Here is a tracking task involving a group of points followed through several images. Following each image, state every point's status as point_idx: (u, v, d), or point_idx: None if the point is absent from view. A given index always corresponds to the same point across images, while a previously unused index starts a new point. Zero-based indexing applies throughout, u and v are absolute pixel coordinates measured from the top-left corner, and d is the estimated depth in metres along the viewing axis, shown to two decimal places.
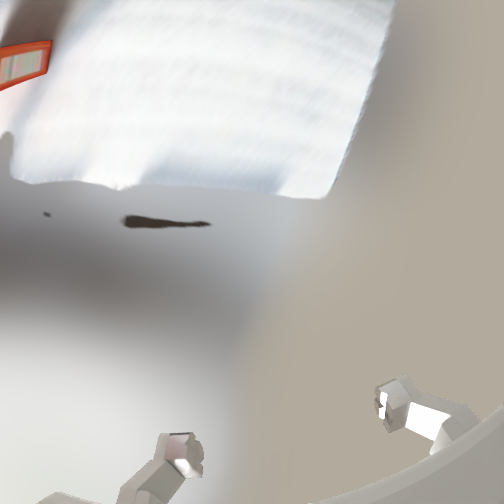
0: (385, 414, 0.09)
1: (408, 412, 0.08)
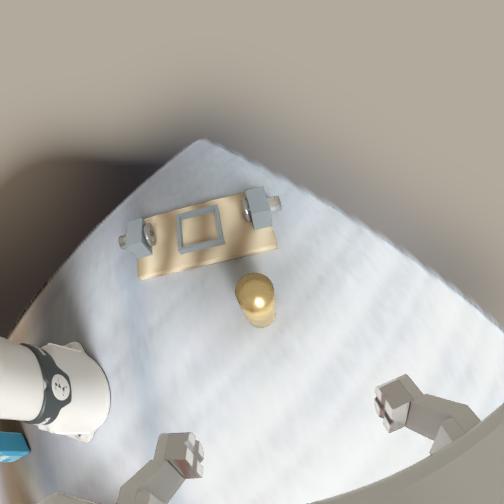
0: (385, 414, 0.09)
1: (408, 412, 0.08)
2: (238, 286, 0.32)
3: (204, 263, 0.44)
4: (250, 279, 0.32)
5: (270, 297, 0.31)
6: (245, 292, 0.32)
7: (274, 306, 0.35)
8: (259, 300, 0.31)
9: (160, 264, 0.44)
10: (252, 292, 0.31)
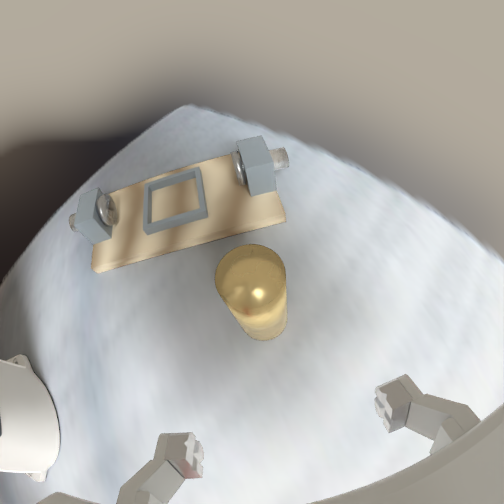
0: (385, 414, 0.09)
1: (408, 412, 0.08)
2: (220, 268, 0.17)
3: (179, 246, 0.30)
4: (242, 255, 0.18)
5: (280, 286, 0.16)
6: (233, 278, 0.17)
7: (286, 305, 0.21)
8: (259, 292, 0.16)
9: (120, 250, 0.30)
10: (246, 279, 0.17)
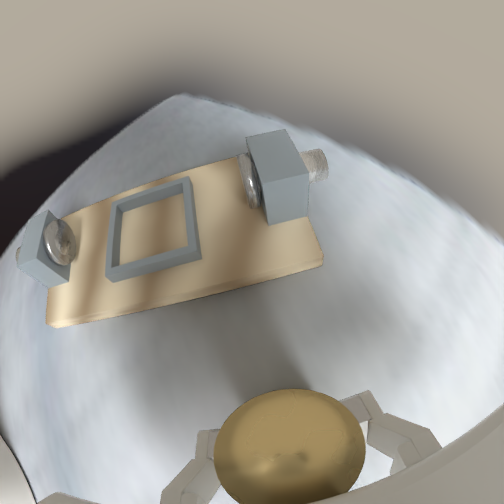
0: None
1: (368, 430, 0.08)
2: (224, 440, 0.06)
3: (159, 303, 0.19)
4: (272, 415, 0.07)
5: (352, 476, 0.05)
6: (255, 464, 0.06)
7: None
8: (309, 491, 0.05)
9: (78, 302, 0.19)
10: (283, 466, 0.06)
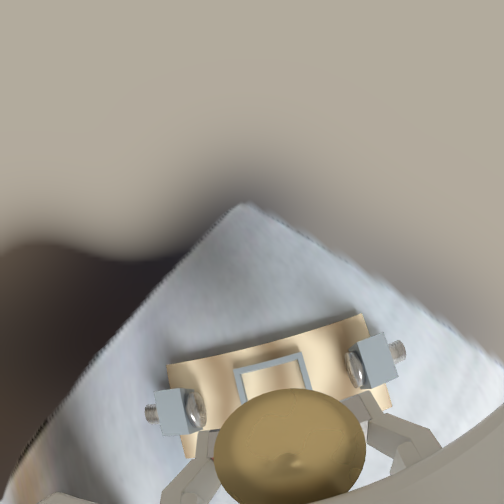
0: None
1: (368, 430, 0.08)
2: (224, 440, 0.06)
3: None
4: (273, 414, 0.07)
5: (353, 476, 0.05)
6: (255, 463, 0.06)
7: None
8: (310, 490, 0.05)
9: None
10: (283, 466, 0.06)
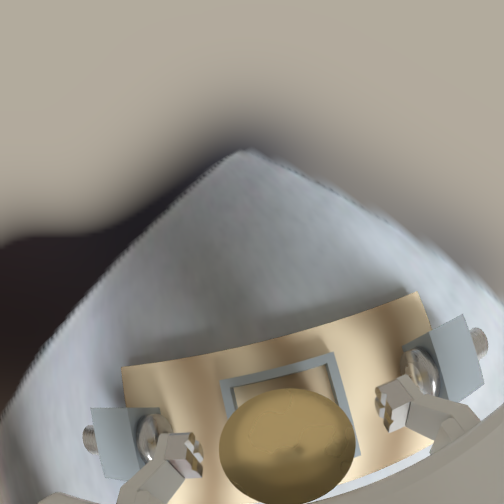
0: (385, 414, 0.09)
1: (408, 412, 0.08)
2: (228, 435, 0.07)
3: None
4: (272, 411, 0.08)
5: (344, 468, 0.06)
6: (256, 456, 0.07)
7: None
8: (305, 481, 0.06)
9: (198, 492, 0.13)
10: (281, 458, 0.07)
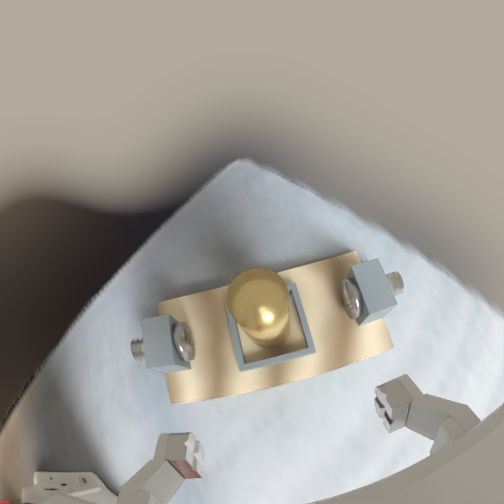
0: (385, 414, 0.09)
1: (408, 412, 0.08)
2: (230, 290, 0.19)
3: (282, 384, 0.25)
4: (249, 278, 0.20)
5: (284, 306, 0.18)
6: (243, 299, 0.19)
7: (289, 319, 0.23)
8: (265, 312, 0.18)
9: (208, 387, 0.25)
10: (254, 299, 0.19)
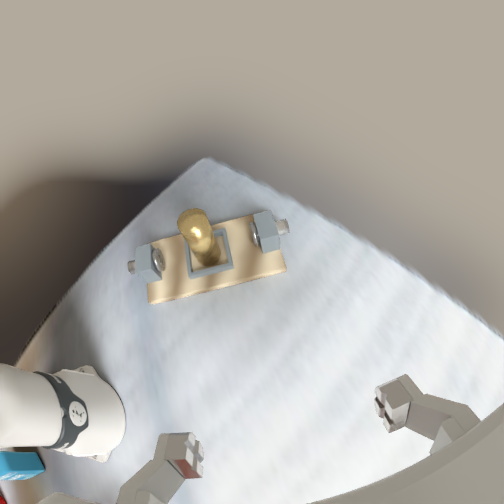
0: (385, 414, 0.09)
1: (408, 412, 0.08)
2: (179, 218, 0.39)
3: (214, 288, 0.45)
4: (189, 212, 0.39)
5: (203, 224, 0.38)
6: (185, 222, 0.39)
7: (213, 240, 0.42)
8: (194, 226, 0.38)
9: (170, 289, 0.45)
10: (190, 222, 0.38)
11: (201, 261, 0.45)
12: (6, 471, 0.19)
